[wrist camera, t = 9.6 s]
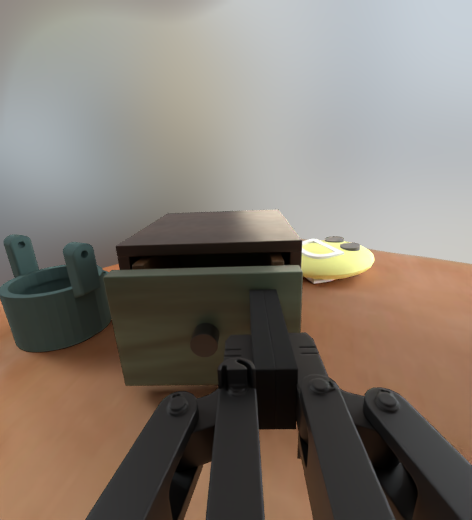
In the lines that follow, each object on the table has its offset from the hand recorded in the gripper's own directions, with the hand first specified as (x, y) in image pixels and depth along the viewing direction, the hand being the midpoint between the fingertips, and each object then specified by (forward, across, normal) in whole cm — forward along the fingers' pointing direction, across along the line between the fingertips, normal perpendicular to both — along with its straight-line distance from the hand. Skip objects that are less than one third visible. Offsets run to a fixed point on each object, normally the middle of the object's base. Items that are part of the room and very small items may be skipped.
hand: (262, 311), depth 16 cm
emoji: (+22, +10, -7) cm, 25 cm away
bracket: (+10, -19, -7) cm, 22 cm away
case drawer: (+6, -3, -6) cm, 9 cm away
